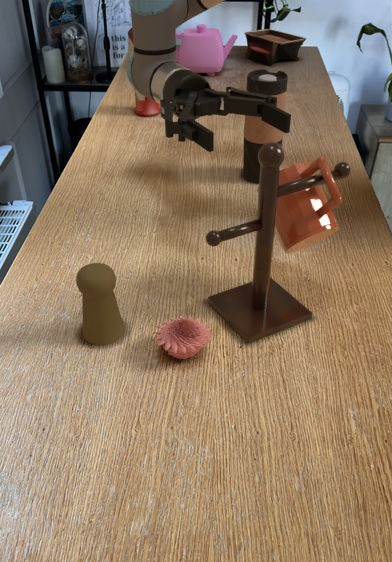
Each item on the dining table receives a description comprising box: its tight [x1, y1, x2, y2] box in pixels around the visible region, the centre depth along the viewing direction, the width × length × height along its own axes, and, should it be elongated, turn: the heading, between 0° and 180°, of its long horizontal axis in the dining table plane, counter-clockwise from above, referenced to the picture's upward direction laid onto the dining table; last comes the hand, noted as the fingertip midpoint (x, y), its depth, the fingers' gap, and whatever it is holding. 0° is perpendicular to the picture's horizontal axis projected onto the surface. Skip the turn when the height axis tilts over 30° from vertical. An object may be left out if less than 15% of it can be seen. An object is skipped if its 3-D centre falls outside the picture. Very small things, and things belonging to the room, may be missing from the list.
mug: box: [256, 156, 343, 254], centre depth 82 cm, size 13×8×10 cm
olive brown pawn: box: [75, 262, 125, 346], centre depth 80 cm, size 6×6×11 cm
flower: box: [152, 314, 214, 360], centre depth 78 cm, size 8×8×6 cm
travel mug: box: [242, 68, 289, 185], centre depth 114 cm, size 8×8×20 cm
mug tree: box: [205, 142, 352, 344], centre depth 79 cm, size 22×11×26 cm, turn 120°
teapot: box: [176, 23, 239, 77], centre depth 170 cm, size 20×12×13 cm, turn 86°
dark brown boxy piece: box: [244, 28, 307, 66], centre depth 180 cm, size 14×18×10 cm
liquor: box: [127, 27, 161, 117], centre depth 139 cm, size 7×7×28 cm
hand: (251, 133), depth 87 cm, fingers open, 13 cm apart
